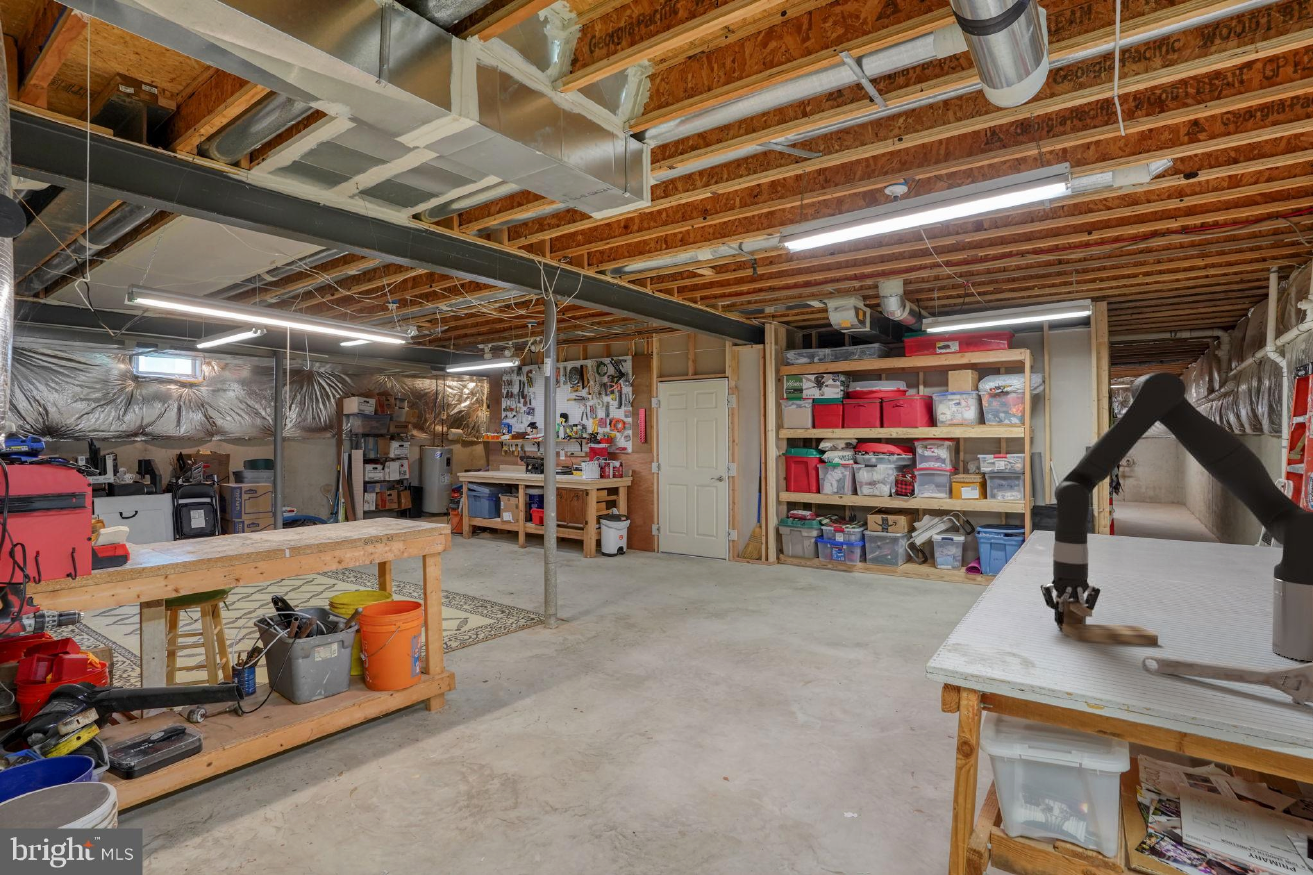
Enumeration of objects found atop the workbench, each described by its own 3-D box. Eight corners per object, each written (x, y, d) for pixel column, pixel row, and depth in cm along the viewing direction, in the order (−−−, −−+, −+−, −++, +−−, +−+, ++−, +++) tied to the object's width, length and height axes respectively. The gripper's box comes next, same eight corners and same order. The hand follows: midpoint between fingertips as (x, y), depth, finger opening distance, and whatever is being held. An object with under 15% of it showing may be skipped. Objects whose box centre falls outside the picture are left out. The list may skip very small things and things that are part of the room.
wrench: (1145, 680, 136) (1350, 710, 115) (1144, 683, 135) (1350, 713, 113) (1140, 643, 137) (1343, 665, 115) (1139, 645, 135) (1344, 668, 114)
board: (1138, 634, 157) (1138, 625, 157) (1157, 644, 150) (1158, 634, 150) (1062, 632, 159) (1062, 623, 159) (1078, 641, 152) (1078, 632, 152)
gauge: (1073, 626, 163) (1073, 599, 163) (1096, 639, 153) (1096, 610, 153) (1056, 625, 164) (1057, 598, 163) (1078, 638, 154) (1079, 610, 154)
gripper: (1048, 561, 158) (1048, 629, 158) (1109, 563, 157) (1108, 631, 157) (1034, 555, 165) (1033, 620, 166) (1091, 556, 164) (1090, 621, 164)
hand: (1069, 625), depth 161 cm, fingers closed on gauge, 4 cm apart
